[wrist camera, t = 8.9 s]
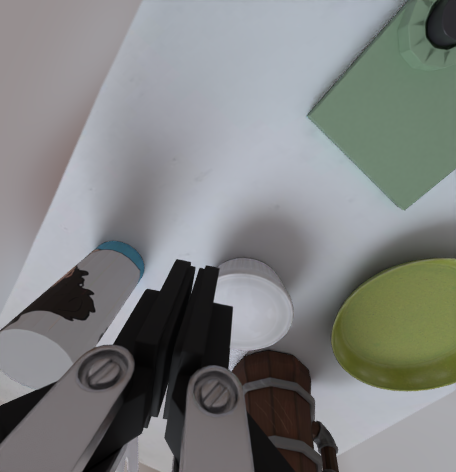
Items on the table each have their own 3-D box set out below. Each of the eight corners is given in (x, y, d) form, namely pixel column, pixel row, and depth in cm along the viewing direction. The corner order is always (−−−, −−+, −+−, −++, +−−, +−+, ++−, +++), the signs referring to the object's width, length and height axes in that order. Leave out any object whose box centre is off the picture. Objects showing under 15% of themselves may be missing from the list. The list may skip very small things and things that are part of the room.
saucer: (374, 222, 29) (388, 234, 27) (539, 274, 31) (569, 290, 28) (300, 349, 38) (305, 369, 35) (431, 386, 39) (446, 408, 36)
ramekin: (186, 265, 34) (176, 290, 29) (270, 236, 31) (273, 258, 26) (221, 329, 38) (217, 360, 33) (298, 308, 35) (306, 338, 30)
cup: (94, 234, 33) (-17, 319, 19) (147, 248, 33) (75, 341, 19) (92, 278, 35) (-6, 379, 22) (141, 291, 36) (74, 398, 22)
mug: (219, 384, 42) (205, 512, 29) (259, 337, 38) (265, 462, 24) (300, 421, 45) (323, 554, 31) (347, 380, 40) (399, 517, 26)
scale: (305, 115, 26) (312, 115, 23) (440, -37, 21) (469, -61, 18) (397, 206, 29) (413, 216, 26) (533, 93, 24) (571, 89, 21)
